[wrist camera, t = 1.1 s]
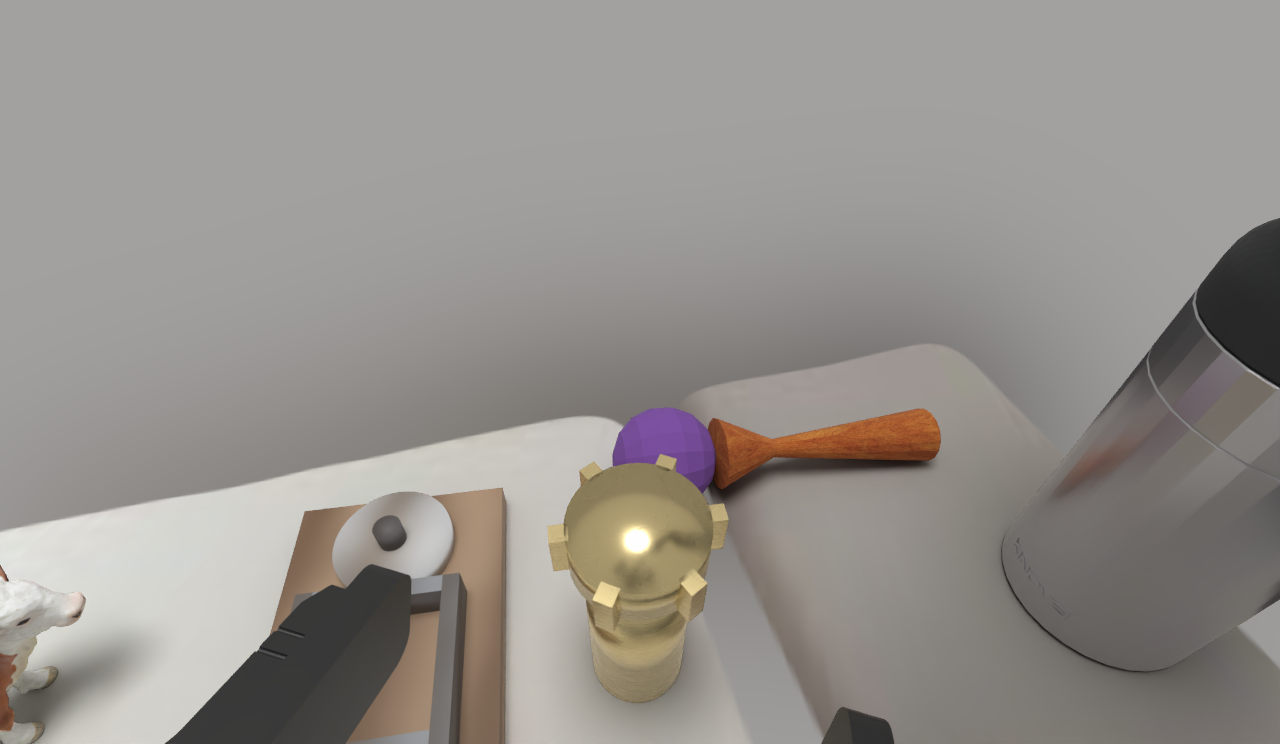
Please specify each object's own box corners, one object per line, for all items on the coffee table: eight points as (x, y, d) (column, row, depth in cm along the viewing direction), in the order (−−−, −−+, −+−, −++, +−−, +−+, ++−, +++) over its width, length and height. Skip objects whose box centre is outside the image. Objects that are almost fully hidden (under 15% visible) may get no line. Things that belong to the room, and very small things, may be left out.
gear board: (506, 502, 37) (496, 464, 34) (503, 957, 22) (486, 951, 20) (314, 525, 35) (289, 488, 33) (183, 1023, 21) (121, 1026, 19)
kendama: (970, 453, 35) (626, 487, 31) (920, 497, 40) (616, 531, 36) (926, 369, 38) (611, 391, 34) (884, 419, 43) (604, 443, 39)
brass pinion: (688, 589, 33) (707, 448, 24) (715, 709, 29) (748, 587, 20) (567, 606, 32) (544, 467, 24) (576, 732, 28) (552, 616, 19)
